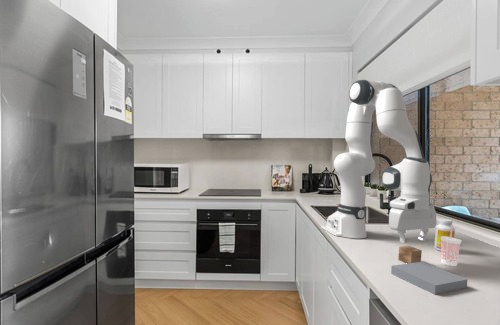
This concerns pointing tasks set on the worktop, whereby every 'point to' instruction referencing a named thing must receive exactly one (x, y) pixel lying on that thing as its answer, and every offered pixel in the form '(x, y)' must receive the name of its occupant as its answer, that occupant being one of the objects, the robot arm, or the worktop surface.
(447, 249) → the beverage cup
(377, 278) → the worktop surface
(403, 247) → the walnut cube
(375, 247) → the worktop surface
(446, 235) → the supplement bottle
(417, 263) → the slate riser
